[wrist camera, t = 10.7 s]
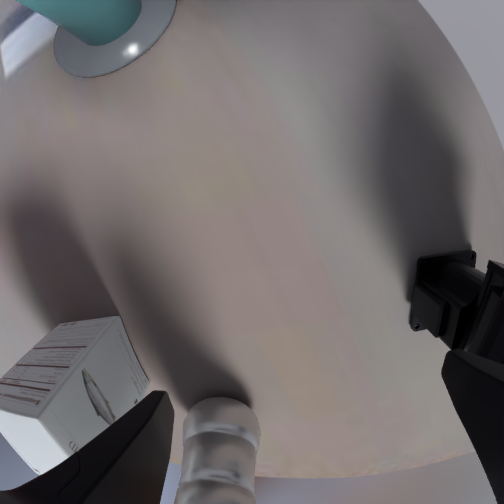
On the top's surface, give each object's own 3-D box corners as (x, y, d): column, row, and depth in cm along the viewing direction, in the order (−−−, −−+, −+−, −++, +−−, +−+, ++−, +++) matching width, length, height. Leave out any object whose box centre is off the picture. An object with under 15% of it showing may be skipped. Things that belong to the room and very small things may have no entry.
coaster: (176, -42, 14) (175, -44, 13) (178, 54, 16) (177, 52, 16) (64, -2, 14) (62, -3, 13) (52, 95, 17) (49, 94, 16)
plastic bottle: (184, 384, 23) (129, 601, 4) (262, 388, 23) (271, 619, 4) (191, 429, 25) (157, 607, 6) (258, 433, 25) (262, 617, 6)
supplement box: (152, 383, 23) (107, 497, 11) (90, 384, 24) (33, 474, 12) (122, 312, 21) (37, 419, 9) (58, 319, 22) (-26, 401, 10)
